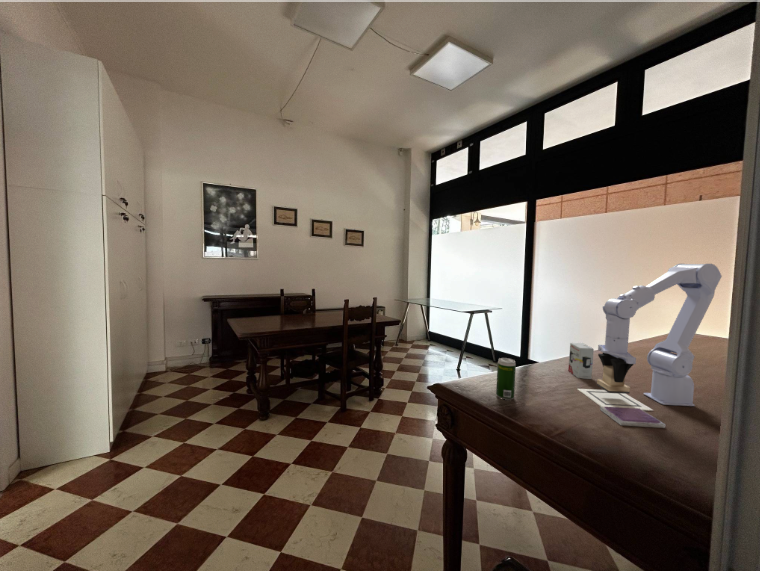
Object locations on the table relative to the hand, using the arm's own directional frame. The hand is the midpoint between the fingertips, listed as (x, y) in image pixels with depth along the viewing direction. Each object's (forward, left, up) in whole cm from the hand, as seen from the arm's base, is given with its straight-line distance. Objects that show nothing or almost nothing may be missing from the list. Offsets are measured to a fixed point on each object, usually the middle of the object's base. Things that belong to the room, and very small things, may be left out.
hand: (613, 379), depth 98 cm
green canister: (+34, +2, -7) cm, 35 cm away
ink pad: (+3, +12, -7) cm, 14 cm away
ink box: (-2, -23, -7) cm, 24 cm away
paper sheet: (0, 0, -7) cm, 7 cm away
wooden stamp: (0, 0, -3) cm, 3 cm away
